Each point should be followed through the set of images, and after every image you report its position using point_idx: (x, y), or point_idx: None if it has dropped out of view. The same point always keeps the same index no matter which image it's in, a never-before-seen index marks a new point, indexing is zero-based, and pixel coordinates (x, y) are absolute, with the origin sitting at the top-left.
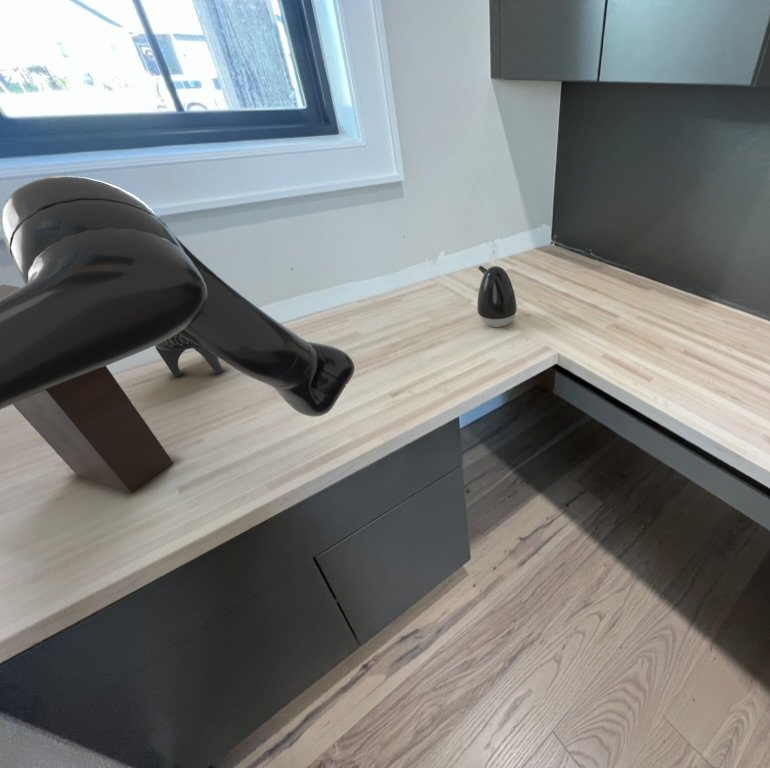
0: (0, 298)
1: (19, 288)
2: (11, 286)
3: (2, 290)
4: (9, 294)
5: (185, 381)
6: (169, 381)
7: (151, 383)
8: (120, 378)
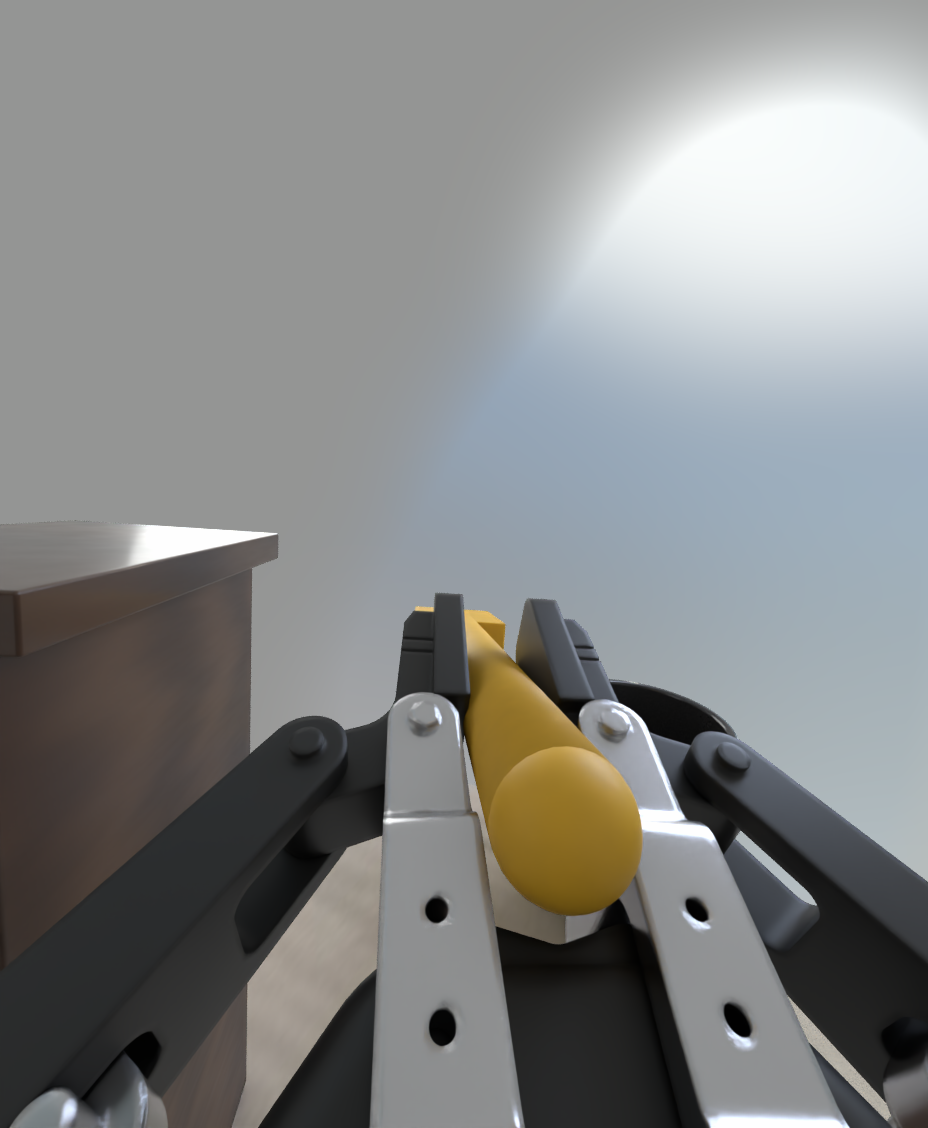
0: (123, 539)
1: (234, 540)
2: (258, 536)
3: (222, 535)
4: (166, 540)
5: (546, 935)
6: (522, 896)
7: (496, 866)
8: (478, 802)
